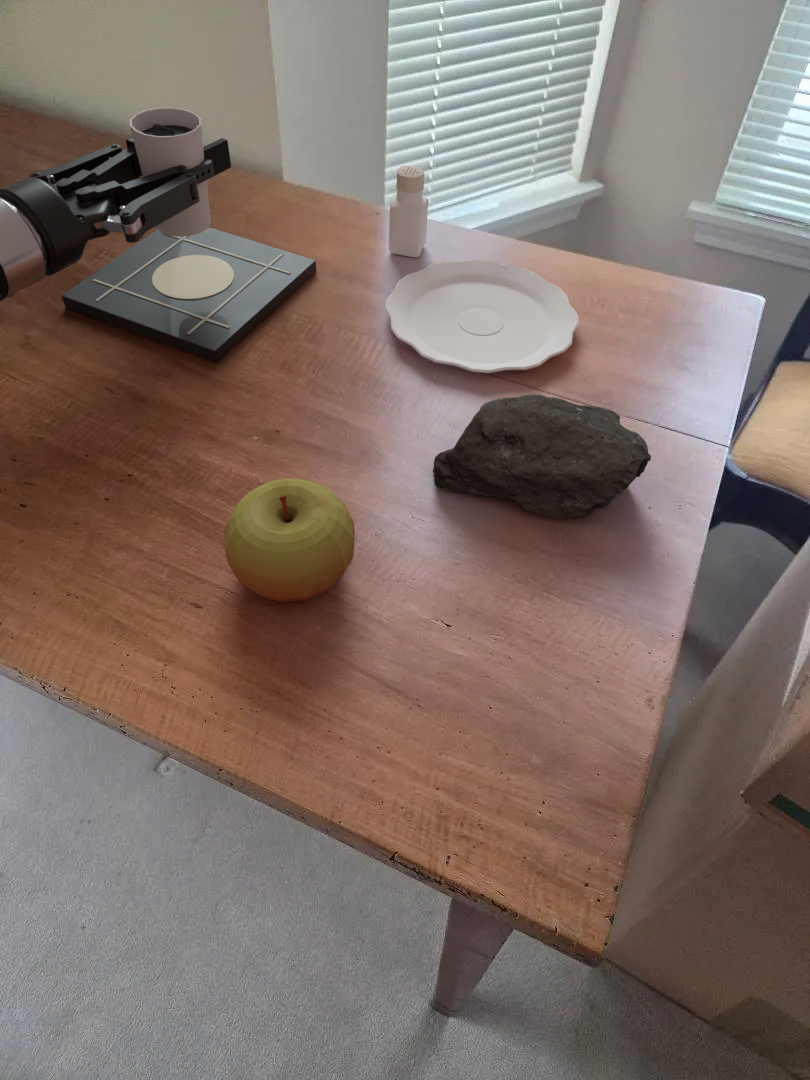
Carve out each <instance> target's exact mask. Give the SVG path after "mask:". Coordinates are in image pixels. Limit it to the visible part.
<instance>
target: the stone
mask: <svg viewBox="0 0 810 1080" xmlns="http://www.w3.org/2000/svg"><path fill="white" fill-rule="evenodd" d="M651 459H652V455H651V454H650V452H649V447H648V445H647V442H646V440H644V438H643V437H642V436H641V434H640V433H638V432H636V431H633V430H630V429H628V428H626V427H625V426H623V425H622V424H621V416H620V414H618V413H616V412H615V411H614V410H612V409H608V408H605V407H600V406H595V405H587V404H586V405H585V404H584V405H581V404H580V405H579V404H576V403H573V402H570V401H568V400H565V399H563V398H559V397H551V396H550V397H549V396H546V395H542V394H525V395H521V396H511V397H499V398H496V399H492V400H490V401H487V402H485V403H483V404H482V405H480V408H479V410H478V411H477V412H476V413H475V414H474V416H473V417H472V419H471V421H470V422H469V423H468V425H467V426H465V428H464V430H463V432H462V433H461V435H460V437H459V438H458V440H457V442H456V443H455V445H454V446H453V447H452V448H450V449H447V450H444V451H441V452H439V453H438V454H437V455H436V456H435V457H434V460H433V468H432V473H433V478H434V479H433V481H434V483H433V484H434V486H435V487H437V488H439V489H440V490H441V489H442V490H446V491H449V492H451V493H459V494H465V495H469V494H471V495H478V496H483V497H485V496H492V497H495V498H501V499H502V498H503V499H504V498H506V499H512V500H514V501H515V502H518V503H520V505H521V506H522V507H523V508H524V509H525V510H527V511H528V512H531V513H535V514H538V515H542V516H543V515H544V516H548V517H549V516H550V517H553V518H567V517H570V518H578V517H579V518H587V517H589V516H590V515H591V514H593V513H594V512H596V511H598V510H603V509H607V507H608V506H609V504H610V503H611V501H612V500H613V499H614V498H615V497H616V496H617V495H618V494H620V493H621V491H622V490H623V491H624V490H627V489H628V488H629V486H630V485H631V484H632V483H633V482H634V481H635V480H636V478H639V477H641V475H642V473H644V472H645V470H646V467H647V466H648V463H649V462H650V461H651Z"/></svg>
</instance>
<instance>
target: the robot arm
mask: <svg viewBox="0 0 810 1080" xmlns="http://www.w3.org/2000/svg"><path fill="white" fill-rule="evenodd" d="M125 144H126V148H125V149H122V145H121V144H119V143H112V144H110V145H106V146H103V147H101V148H99V149H97V150H93V151H92V152H89V153H86V154H84V155H82V156H79V157H76V158H74V159H72V160H69V161H67V162H64V163H62V164H59V165H57V166H54V167H51V168H46V169H42V170H37V171H32V172H31V173H29V174H28V175H29V177H25V178H22V179H20V180H18V181H15V182H13V183H11V184H9V185H7V186H4V187H1V188H0V302H1V301H3V300H5V299H6V298H12V297H13V296H15V294H16V293H18V292H21V291H22V290H25V289H26V288H28V287H30V286H32V285H34V284H36V283H38V282H40V281H42V280H43V279H44V278H45V276H46V277H50V276H51V277H52V276H53V275H55V274H57V273H59V272H60V271H62V270H64V269H66V268H69V267H70V266H73V265H74V264H76V263H78V262H79V261H80V260H81V259H82V257H83V255H84V251H85V249H86V246H87V244H88V242H89V241H91V240H95V239H98V238H103V237H106V236H108V235H109V234H110V233H111V232H113V233H114V232H115V233H120V234H124V238H125V241H126V242H127V243H129V244H134V243H138V242H140V241H141V240H142V238H143V236H144V235H145V234H146V233H147V232H148V231H150V230H152V229H153V228H156V227H155V226H157V225H159V224H161V223H162V222H164V221H166V220H168V219H170V218H171V217H173V216H175V215H177V214H178V213H180V212H182V211H184V210H185V209H187V208H189V207H191V206H193V205H194V204H196V203H198V202H199V201H200V199H199V193H198V187H197V185H198V184H200V183H202V182H204V181H206V180H207V181H208V180H210V179H212V178H213V177H215V176H217V175H219V174H222V173H224V172H226V171H227V170H229V169H231V168H232V163H231V162H232V160H231V154H230V148H229V140H228V139H226V138H223V137H221V138H219V139H217V140H215V141H212V142H210V143H209V144H206V145H203V150H204V160H203V161H202V162H201V163H200V165H197V166H195V167H193V168H191V169H188V170H187V167H186V166H184V165H183V166H182V165H178V166H177V167H171V168H168V169H165V170H162V171H159V172H156V173H153V174H150V175H147V176H144V177H143V176H142V172H141V168H140V164H139V160H138V156H137V152H136V148H135V144H134V140H133V138H127V139H125Z"/></svg>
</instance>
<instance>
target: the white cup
mask: <svg viewBox="0 0 810 1080" xmlns="http://www.w3.org/2000/svg"><path fill="white" fill-rule="evenodd" d="M129 128H130V132H131V136H132V139H133V140H134V144H135V148H136V152H137V156H138V160H139V164H140V168H141V172H142V176H141V177H144V176H147V175H150V174H153V173H156V172H159V171H162V170H165V169H168V168H171V167H177V166H178V165H182V166H183V165H184V166H186V167H187V170H188V169H191V168H193V167H195V166H197V165H200V163H201V162H202V161H203V160H204V150H203V147H204V139H203V130H202V128H203V127H202V119H201V117H199V115H197V114H196V113H195V112H192V111H191V110H188V109H184V108H177V107H156V108H155V107H154V108H149V109H145V110H143V111H140V112H138V113H136V114H134V115H133V116H132V117H131V118H130V119H129ZM207 181H208V180H206V181H204V182H202V183H200V184H198V185H197V187H198V193H199V199H200V201H199V202H198V203H196V204H194V205H193V206H191V207H189V208H187V209H185V210H184V211H182V212H180V213H178V214H177V215H175V216H173V217H171V218H170V219H168V220H166V221H164V222H162V223H161V224H159V225H157V226H155V227H154V228H156V230H159V231H160V232H162V233H164V234H167V235H172V236H177V237H178V236H191V235H195V234H199V233H201V232H203V231H205V230H206V229H207V228H208V227H210V226H211V223H212V222H211V213H210V202H209V201H210V200H209V191H208V190H209V189H208V182H207Z"/></svg>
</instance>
